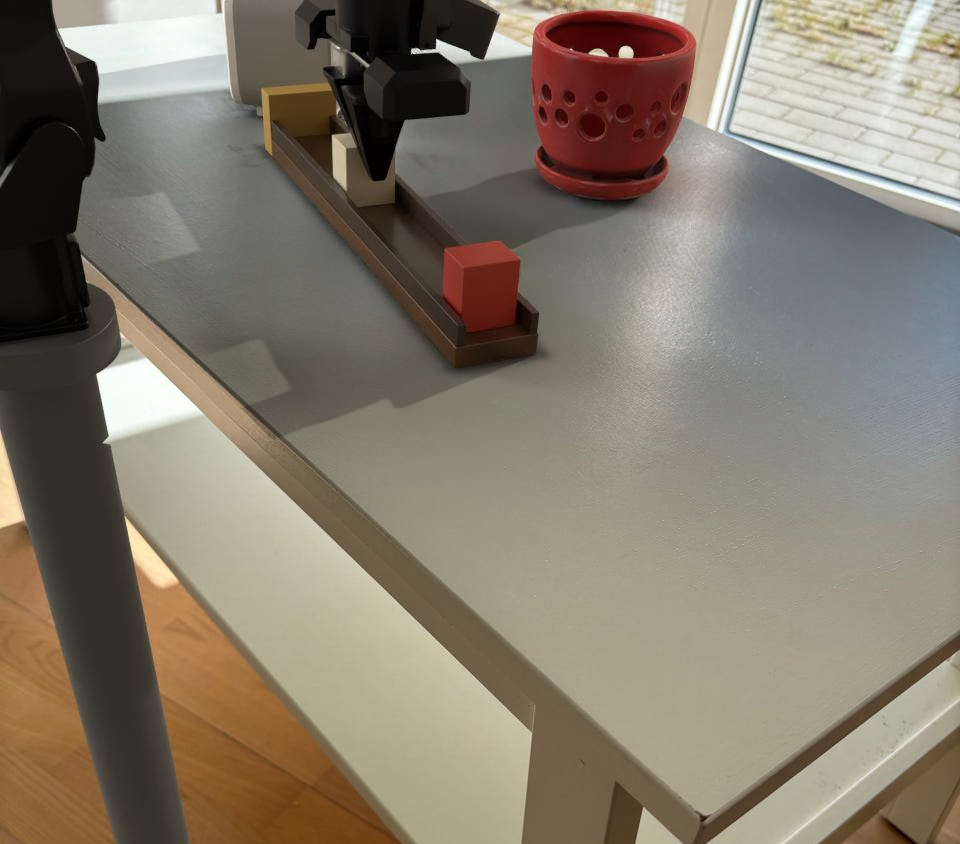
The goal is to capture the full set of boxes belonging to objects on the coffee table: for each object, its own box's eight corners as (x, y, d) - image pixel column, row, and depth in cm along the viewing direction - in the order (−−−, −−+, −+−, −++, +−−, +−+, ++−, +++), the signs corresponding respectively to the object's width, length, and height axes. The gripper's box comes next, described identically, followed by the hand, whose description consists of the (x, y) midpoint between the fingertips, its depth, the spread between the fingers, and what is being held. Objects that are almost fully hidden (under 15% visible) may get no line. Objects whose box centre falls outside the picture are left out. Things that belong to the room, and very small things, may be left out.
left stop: (272, 156, 94) (268, 95, 91) (265, 148, 95) (260, 87, 92) (337, 150, 96) (336, 89, 93) (330, 142, 98) (328, 82, 94)
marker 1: (346, 209, 84) (345, 148, 80) (333, 194, 85) (331, 134, 82) (395, 203, 85) (395, 143, 82) (380, 188, 87) (380, 129, 84)
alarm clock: (296, 39, 119) (291, -89, 111) (381, 48, 119) (381, -80, 111) (231, 123, 99) (218, -26, 91) (332, 134, 99) (328, -14, 91)
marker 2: (460, 334, 70) (463, 267, 67) (441, 313, 72) (444, 247, 69) (515, 325, 72) (521, 259, 69) (495, 304, 74) (500, 239, 71)
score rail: (454, 369, 70) (456, 326, 68) (272, 156, 94) (269, 120, 92) (536, 354, 72) (541, 312, 70) (337, 150, 96) (336, 114, 94)
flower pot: (538, 145, 100) (552, -1, 92) (679, 168, 99) (707, 20, 90) (505, 197, 91) (517, 39, 83) (660, 223, 89) (688, 64, 81)
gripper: (553, -33, 68) (529, 216, 79) (433, -96, 80) (427, 127, 90) (386, -26, 64) (385, 234, 75) (287, -94, 76) (298, 139, 87)
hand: (377, 179), depth 82 cm, fingers closed
